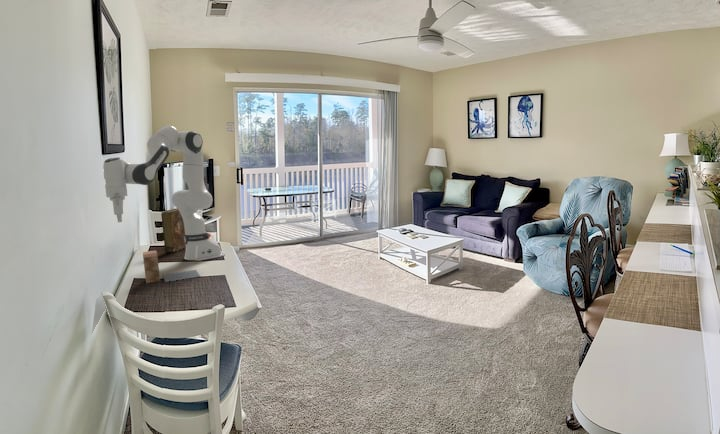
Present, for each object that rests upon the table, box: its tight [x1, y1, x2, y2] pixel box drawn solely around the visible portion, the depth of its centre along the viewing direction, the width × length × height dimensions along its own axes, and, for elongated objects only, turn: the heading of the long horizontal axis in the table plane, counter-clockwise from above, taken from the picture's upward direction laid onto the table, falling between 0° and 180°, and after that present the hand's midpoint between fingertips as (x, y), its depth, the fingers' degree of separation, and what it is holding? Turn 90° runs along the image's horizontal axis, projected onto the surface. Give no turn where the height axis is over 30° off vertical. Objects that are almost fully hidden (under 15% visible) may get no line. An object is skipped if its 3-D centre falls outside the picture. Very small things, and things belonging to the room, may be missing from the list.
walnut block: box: [142, 250, 161, 284], centre depth 224 cm, size 6×6×14 cm
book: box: [160, 208, 186, 253], centre depth 288 cm, size 16×6×25 cm, turn 168°
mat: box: [162, 269, 201, 283], centre depth 231 cm, size 16×14×1 cm
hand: (119, 221), depth 220 cm, fingers closed
